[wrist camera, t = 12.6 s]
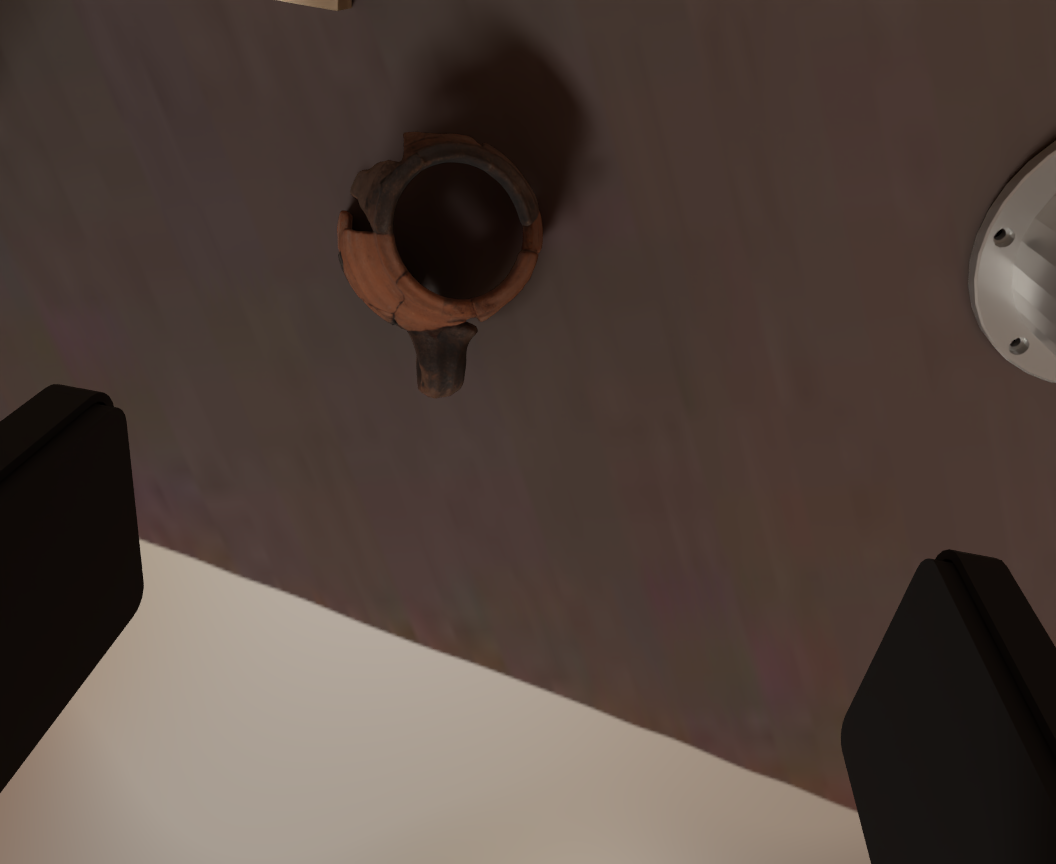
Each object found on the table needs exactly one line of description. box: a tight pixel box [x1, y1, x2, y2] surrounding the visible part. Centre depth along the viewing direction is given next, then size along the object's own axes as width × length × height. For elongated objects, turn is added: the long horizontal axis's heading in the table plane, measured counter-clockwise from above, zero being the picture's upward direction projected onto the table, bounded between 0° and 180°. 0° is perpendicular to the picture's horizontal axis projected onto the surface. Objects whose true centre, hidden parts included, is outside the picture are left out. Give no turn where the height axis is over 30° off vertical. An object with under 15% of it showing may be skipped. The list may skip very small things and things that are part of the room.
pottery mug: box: [337, 132, 543, 398], centre depth 40 cm, size 12×10×8 cm
